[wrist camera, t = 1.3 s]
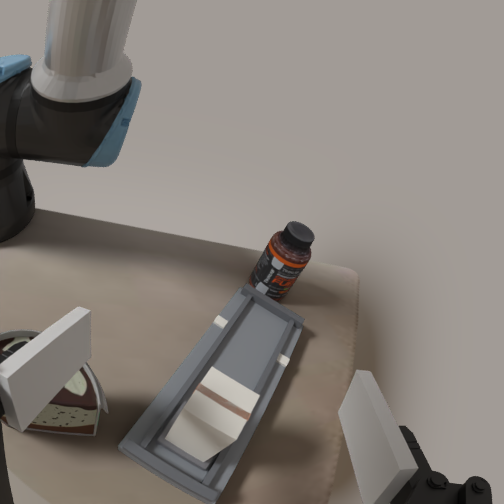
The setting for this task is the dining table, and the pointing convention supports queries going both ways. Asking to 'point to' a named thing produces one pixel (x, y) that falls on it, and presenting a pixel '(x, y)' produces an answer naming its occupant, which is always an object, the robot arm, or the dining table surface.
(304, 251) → the supplement bottle
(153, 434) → the board
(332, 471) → the dining table surface
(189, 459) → the fader tab
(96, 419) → the food container
